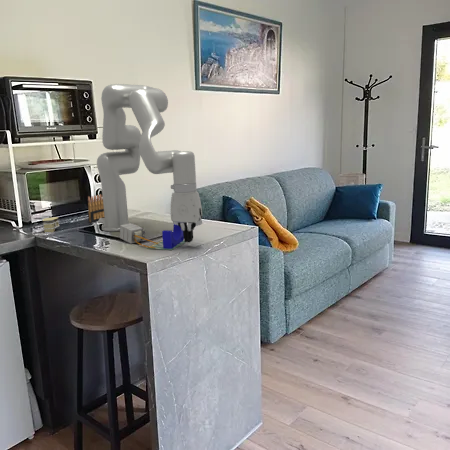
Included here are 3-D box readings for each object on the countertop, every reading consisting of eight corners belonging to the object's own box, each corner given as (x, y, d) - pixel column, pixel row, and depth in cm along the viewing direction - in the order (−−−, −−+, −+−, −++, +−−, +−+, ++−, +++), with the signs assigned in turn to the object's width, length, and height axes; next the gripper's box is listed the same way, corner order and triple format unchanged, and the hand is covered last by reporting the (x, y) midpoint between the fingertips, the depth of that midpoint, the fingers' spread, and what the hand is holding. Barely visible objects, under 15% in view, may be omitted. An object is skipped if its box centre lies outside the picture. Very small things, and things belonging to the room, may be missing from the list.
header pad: (146, 248, 157) (146, 247, 157) (163, 240, 168) (163, 239, 168) (171, 250, 154) (171, 249, 153) (186, 241, 164) (186, 240, 164)
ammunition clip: (105, 218, 215) (103, 193, 212) (108, 218, 214) (105, 193, 211) (88, 222, 206) (85, 196, 203) (91, 223, 205) (88, 196, 202)
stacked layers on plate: (59, 233, 187) (58, 220, 186) (37, 235, 187) (35, 221, 185) (65, 228, 197) (64, 216, 196) (44, 229, 196) (42, 217, 195)
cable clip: (172, 239, 167) (171, 223, 165) (183, 240, 166) (182, 223, 164) (159, 248, 155) (158, 231, 154) (171, 248, 154) (170, 231, 153)
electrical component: (172, 254, 158) (173, 241, 157) (159, 258, 154) (159, 244, 152) (130, 234, 173) (130, 221, 171) (116, 237, 169) (117, 224, 167)
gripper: (160, 189, 153) (164, 243, 156) (201, 190, 147) (204, 245, 151) (170, 187, 160) (174, 237, 163) (210, 187, 154) (212, 239, 158)
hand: (188, 241), depth 157 cm, fingers closed
